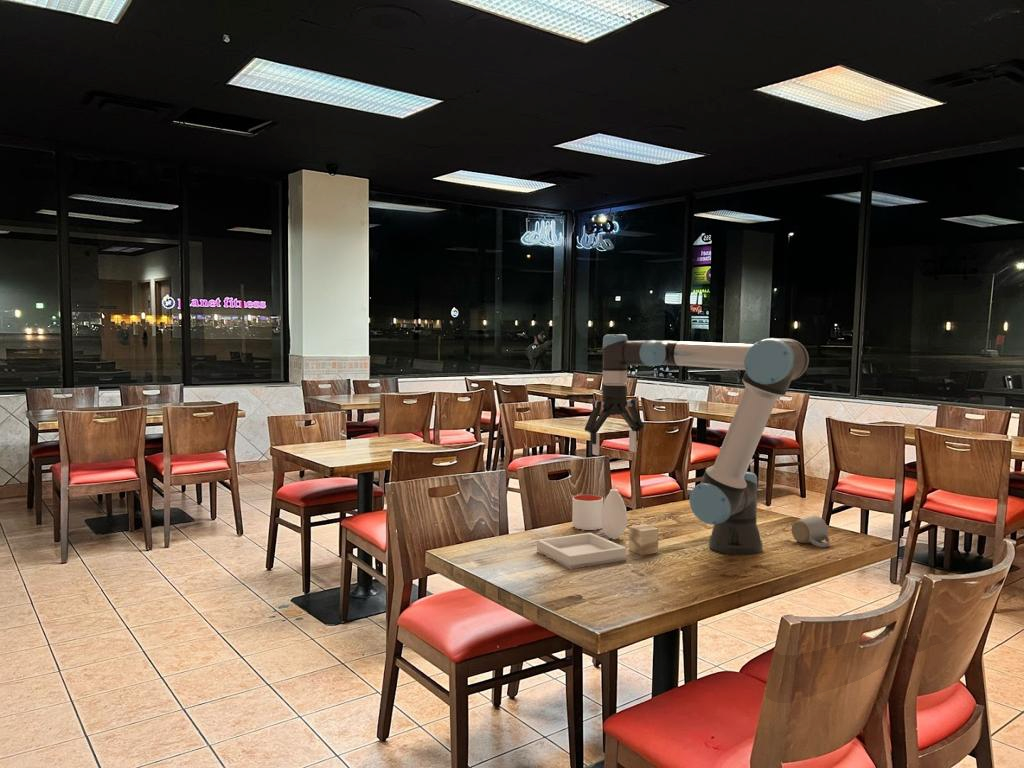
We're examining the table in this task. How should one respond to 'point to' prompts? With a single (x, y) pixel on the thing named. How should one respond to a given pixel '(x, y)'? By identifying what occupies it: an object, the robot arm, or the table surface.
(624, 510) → the sauce bottle
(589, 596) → the table surface
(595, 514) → the cup
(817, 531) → the ceramic mug
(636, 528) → the birch block
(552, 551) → the tray
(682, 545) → the table surface
